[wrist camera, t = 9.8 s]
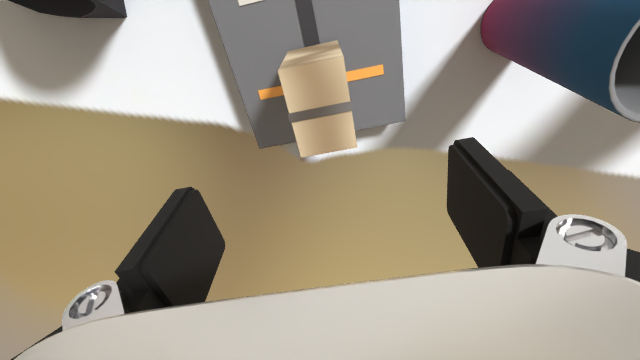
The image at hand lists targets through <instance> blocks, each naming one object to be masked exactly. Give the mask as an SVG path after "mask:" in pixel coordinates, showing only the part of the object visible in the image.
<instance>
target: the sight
mask: <svg viewBox="0 0 640 360" xmlns="http://www.w3.org/2000/svg"><path fill="white" fill-rule="evenodd" d="M9 1H11V2H14V3H16V4H19V5H22V6H24V7H27V8H29V9H32V10H34V11H37V12H39V13H45V14H51V15H57V16H65V17H77V18H124V17H127V14H126V9H125V4H124V0H9Z"/></svg>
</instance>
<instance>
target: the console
mask: <svg viewBox="0 0 640 360" xmlns="http://www.w3.org/2000/svg"><path fill="white" fill-rule="evenodd" d="M208 2H209V5H210V7H211V10H212V13H213V16H214V19H215V22H216V25H217V28H218V30H219V33H220V36H221V39H222V42H223V45H224V48H225V51H226V54H227V56H228V59H229V62H230V65H231V68H232V71H233V74H234V77H235V79H236V82H237V85H238V88H239V91H240V94H241V97H242V100H243V102H244V105H245V108H246V111H247V114H248V117H249V120H250V123H251V125H252V128H253V131H254V134H255V137H256V140H257V143H258V146H259V148H266V147H271V146H277V145H282V144H287V143H292V142H297V141H296V137H295V133H294V130H293V126H292V123H290V122H289V118H288V107H287V104H286V100H285V96H284V93H283V89H282V85H281V81H280V78H279V74H278V69H279V67H280V65H281V64H282V62H283V60H284V58H285V56H286V54H287V52H288V51H291V50H295V49H300V48H304V47H309V46H313V45H318V44H322V43H327V42H331V41H336V40H337V41H338V43H339V46H340V49H341V51H342V54H343V57H344V63H345V70H346V76H347V83H348V89H349V96H350V99H351V100H352V105H353V111H352V116H353V122H354V129H355V131H356V130H361V129H366V128H372V127H377V126H382V125H388V124H393V123H398V122H403V121H405V102H404V83H403V64H402V46H401V27H400V8H399V0H208Z"/></svg>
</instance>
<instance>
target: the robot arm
mask: <svg viewBox="0 0 640 360" xmlns="http://www.w3.org/2000/svg"><path fill="white" fill-rule="evenodd" d="M447 211H448V214H449V216H450V218H451V220H452V222H453V223H454V225H455V227H456V229H457V230H458V232H459V234H460V235H461V238H462V239H463V241H464V243H465V245H466V246H467V248H468V250H469V252H470V253H471V255H472V257H473V259H474V261H475V262H476V264H477V266H478V268H472V269H463V270H455V271H447V272H437V273H429V274H421V275H412V276H405V277H396V278H388V279H380V280H372V281H364V282H356V283H348V284H340V285H332V286H324V287H316V288H309V289H301V290H293V291H285V292H278V293H270V294H262V295H254V296H247V297H239V298H232V299H224V300H218V301H210V302H205V300H206V297H207V295H208V292H209V289H210V287H211V284H212V281H213V279H214V276H215V274H216V271H217V268H218V266H219V263H220V260H221V258H222V255H223V252H224V249H225V241H224V239H223V237H222V235H221V233H220V231H219V229H218V227H217V225H216V223H215V221H214V220H213V217H212V215H211V214H210V211H209V210H208V208H207V206H206V204H205V202H204V200H203V198H202V196H201V194H200V192H199V191H198V190H195V189H194V188H192V187H187V188H181V189H176V190H175V191H174V192H173V193H172V195H171V196H170V198H169V199H168V200H167V201H166V203H165V204H164V205H163V207H162V208H161V210H160V211H159V212H158V214H157V215H156V216H155V218H154V219H153V221H152V222H151V223H150V224H149V226H148V227H147V229H146V230H145V231H144V233H143V234H142V235H141V237H140V238H139V239H138V241H137V242H136V243H135V245H134V246H133V248H132V249H131V250H130V252H129V253H128V254H127V256H126V257H125V258H124V260H123V261H122V263H121V264H120V265H119V267H118V268H117V269H116V271H115V273H116V274H117V275H118V277H119V278H120V279H119V280H118V281H117V283H116V282H115V281H111V280H106V281H102V282H98V283H96V284H94V285H92V286H90V287H88V288H87V289H85V290H84V291H82V292H81V293H79V294H78V295H77V296H76V297H75V298H74V299H73V300H72V301H71V302H70V303H69V304H68V306H67V307H66V309H65V311H64V313H63V317H62V323H63V324H62V326H61V327H60V328H58V329H57V330H55V331H54V332H52V333H51V334H49V335H47V336H46V337H45V338H43V339H42V340H40V341H38V342H37V343H35V344H34V345H32V346H31V347H29V348H28V349H26V350H25V351H23V352H22V353H20V354H18V355H17V356H16V357H14V358H12V359H11V360H640V252H636V251H633V250H630V249H627V242H626V238H625V237H624V235H623V234H622V233H621V232H620V231H619V230H618V229H616V228H615V227H614V226H612V225H611V224H609V223H606V222H604V221H602V220H599V219H597V218H593V217H590V216H584V215H578V214H576V215H575V214H572V215H571V214H570V215H569V214H567V215H562V216H557V215H555V213H554V212H552V210H550V209H549V208H548V207H547V206H546V205H545V204H544V203H543V202H542V201H541V200H540V199H539V198H538V197H537V196H536V195H535V194H534V193H533V192H532V191H530V190H529V188H527V187H526V186H525V185H524V184H523V183H522V182H521V181H520V180H519V179H518V178H517V177H516V176H515V175H514V174H513V173H512V172H510V171H509V170H507V169H506V168H505V167H504V166H503V165H502V164H501V163H500V162H499V161H498V160H497V159H495V158H494V157H493V156H492V155H491V154H490V153H489V152H488V151H487V150H486V149H485V148H484V147H483V146H482V145H481V144H480V143H479V142H478V141H477V140H476V139H475V138H473V137H471V138H466V139H460V140H455V141H454V145H450V146H449V150H448V184H447Z"/></svg>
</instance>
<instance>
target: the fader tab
mask: <svg viewBox="0 0 640 360" xmlns="http://www.w3.org/2000/svg"><path fill="white" fill-rule="evenodd" d="M278 74H279V78H280V81H281V85H282V89H283V93H284V96H285V100H286V104H287V107H288V118H289V122H290V123H292V126H293V130H294V133H295V137H296V141H297V145H298V148H299V152H300V156H301V157H307V156H312V155H318V154H323V153H329V152H334V151H340V150H345V149H351V148H356V147H357V142H356V136H355V129H354V122H353V116H352V111H353V105H352V100H351V99H350V96H349V89H348V83H347V76H346V70H345V63H344V57H343V54H342V51H341V49H340V46H339V43H338V41H337V40H336V41H331V42H327V43H322V44H318V45H313V46H309V47H304V48H300V49H295V50H291V51H288V52H287V54H286V56H285V58H284V60H283V62H282V64H281V65H280V67H279V69H278Z"/></svg>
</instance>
